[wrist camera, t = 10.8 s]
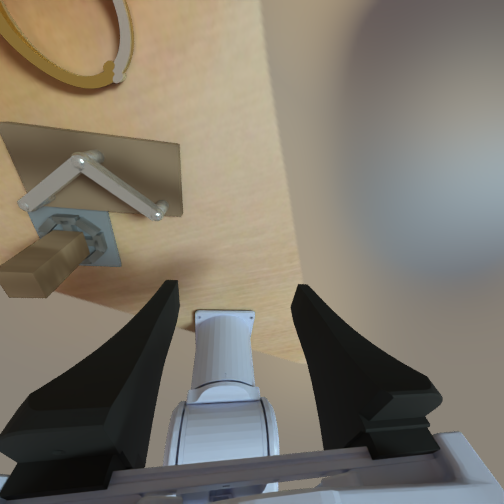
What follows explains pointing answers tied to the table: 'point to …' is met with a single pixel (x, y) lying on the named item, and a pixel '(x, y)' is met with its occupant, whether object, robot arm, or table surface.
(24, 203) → the bent wire
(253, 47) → the table surface
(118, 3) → the ring
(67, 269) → the ring wand
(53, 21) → the table surface
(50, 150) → the base
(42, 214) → the mat
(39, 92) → the table surface
